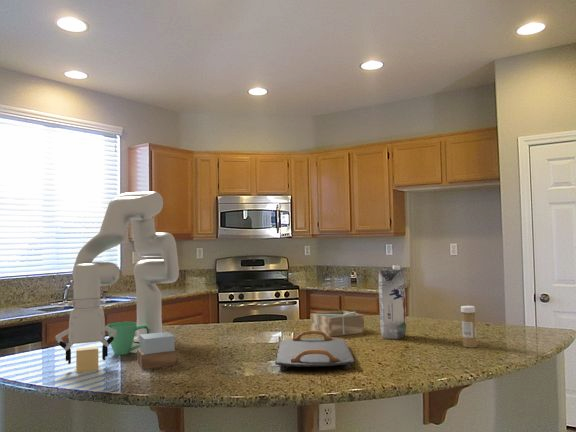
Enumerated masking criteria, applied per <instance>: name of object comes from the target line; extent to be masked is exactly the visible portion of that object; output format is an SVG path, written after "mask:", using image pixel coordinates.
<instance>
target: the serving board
mask: <svg viewBox="0 0 576 432" xmlns="http://www.w3.org/2000/svg"><path fill="white" fill-rule="evenodd" d="M307 335H318V336H319V335H320V336H322V337H321V338H320V337H318V338H317V337H308V338H303V336H307ZM301 337H302V338H301ZM277 348H278V349H277V351H276V352H277V353H276V355H275V358H276V359H275V363H274V364H275V365H276V366H279V371H280V372H287V371H288V367H298V368H299V367H303V368H304V367H305V368H306V367H308V368H309V367H311V368H313V367H314V368H315V367H333V366H342V370H344V371H350V370H351V364H355V359H354V357H353V354H352V353H351V350H350V348H349V346H348V343H347V342H346V340H345V339H343V338H333V336H330V337H329V336H327V335H326V334H325V333H324V332H322V331H315V330H312V331H311V330H305V331H302V332H300V333H299V334H298V335H297V336H296V337H293V338H292V339H283V340H280V342H279V345H278V346H277Z"/></svg>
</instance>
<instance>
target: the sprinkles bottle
mask: <svg viewBox="0 0 576 432" xmlns="http://www.w3.org/2000/svg"><path fill="white" fill-rule="evenodd" d="M475 312H476V307H475V306H474V305H462V306H460V314H461V330H462V346H463V347H465V348H477V347H478V344H477V327H476V316H475V315H476V313H475Z"/></svg>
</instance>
